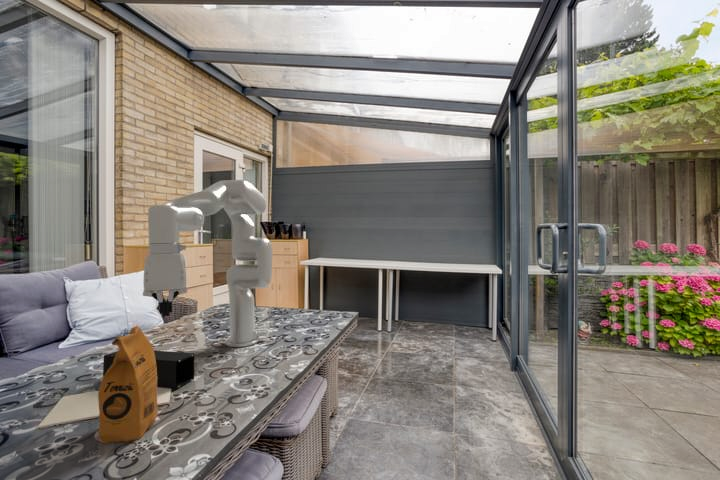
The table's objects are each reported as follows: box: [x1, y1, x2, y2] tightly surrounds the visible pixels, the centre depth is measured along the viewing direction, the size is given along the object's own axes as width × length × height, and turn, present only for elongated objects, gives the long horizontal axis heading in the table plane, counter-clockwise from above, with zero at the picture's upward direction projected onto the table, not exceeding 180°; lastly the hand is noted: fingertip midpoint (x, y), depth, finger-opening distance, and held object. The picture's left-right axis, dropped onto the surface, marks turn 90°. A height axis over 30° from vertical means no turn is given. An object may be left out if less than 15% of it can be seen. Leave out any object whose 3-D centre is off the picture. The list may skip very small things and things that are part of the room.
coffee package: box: [98, 325, 159, 444], centre depth 77 cm, size 10×12×22 cm
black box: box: [102, 350, 196, 390], centre depth 102 cm, size 8×8×28 cm
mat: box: [37, 387, 172, 430], centre depth 90 cm, size 26×16×1 cm, turn 115°
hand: (166, 315), depth 95 cm, fingers closed
